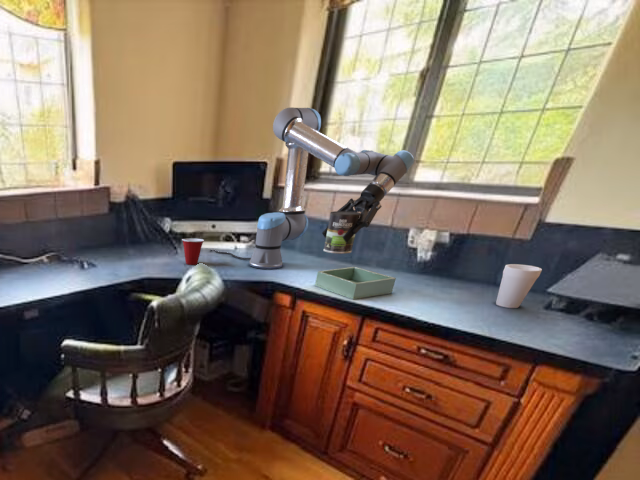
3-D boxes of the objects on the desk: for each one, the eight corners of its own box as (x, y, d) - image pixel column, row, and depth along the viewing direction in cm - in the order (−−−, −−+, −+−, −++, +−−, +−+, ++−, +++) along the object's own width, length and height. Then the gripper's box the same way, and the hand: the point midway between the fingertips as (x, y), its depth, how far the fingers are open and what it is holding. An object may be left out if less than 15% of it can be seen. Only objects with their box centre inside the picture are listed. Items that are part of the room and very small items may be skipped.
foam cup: (514, 311, 140) (531, 272, 134) (484, 303, 148) (499, 266, 142) (530, 306, 144) (548, 268, 137) (500, 299, 151) (515, 263, 145)
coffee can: (351, 254, 158) (360, 214, 151) (321, 252, 163) (329, 213, 156) (352, 249, 166) (361, 211, 159) (324, 247, 171) (331, 210, 164)
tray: (314, 285, 172) (317, 271, 169) (351, 280, 177) (354, 266, 174) (352, 299, 155) (356, 283, 152) (391, 293, 161) (396, 278, 158)
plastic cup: (206, 262, 212) (207, 237, 206) (197, 267, 204) (198, 241, 198) (186, 260, 217) (187, 236, 211) (177, 264, 209) (178, 239, 203)
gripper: (406, 200, 150) (361, 249, 154) (356, 195, 169) (317, 239, 172) (399, 184, 146) (353, 235, 150) (349, 181, 165) (309, 226, 168)
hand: (334, 237), depth 161 cm, fingers closed on coffee can, 10 cm apart
